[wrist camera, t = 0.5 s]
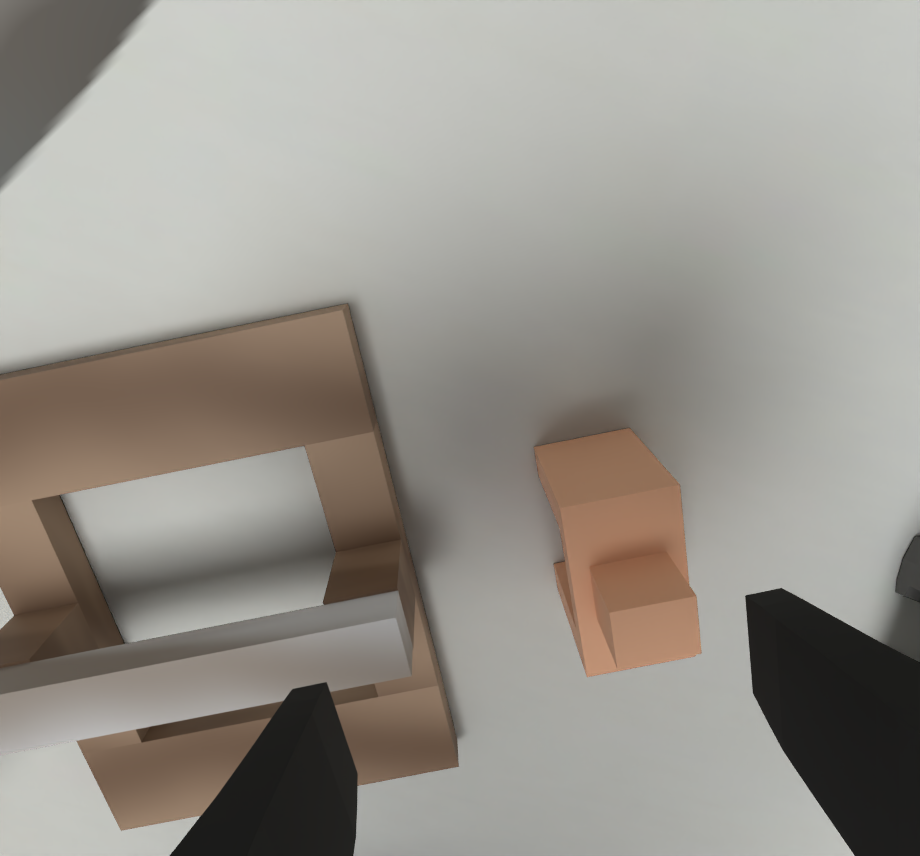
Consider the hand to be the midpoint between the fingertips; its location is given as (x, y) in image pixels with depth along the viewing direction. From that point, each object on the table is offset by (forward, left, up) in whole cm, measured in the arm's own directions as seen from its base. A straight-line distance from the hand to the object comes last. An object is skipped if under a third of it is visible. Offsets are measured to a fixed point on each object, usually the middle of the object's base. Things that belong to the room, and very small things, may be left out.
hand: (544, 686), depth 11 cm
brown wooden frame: (-2, +9, -10) cm, 14 cm away
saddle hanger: (-2, -3, -10) cm, 11 cm away
